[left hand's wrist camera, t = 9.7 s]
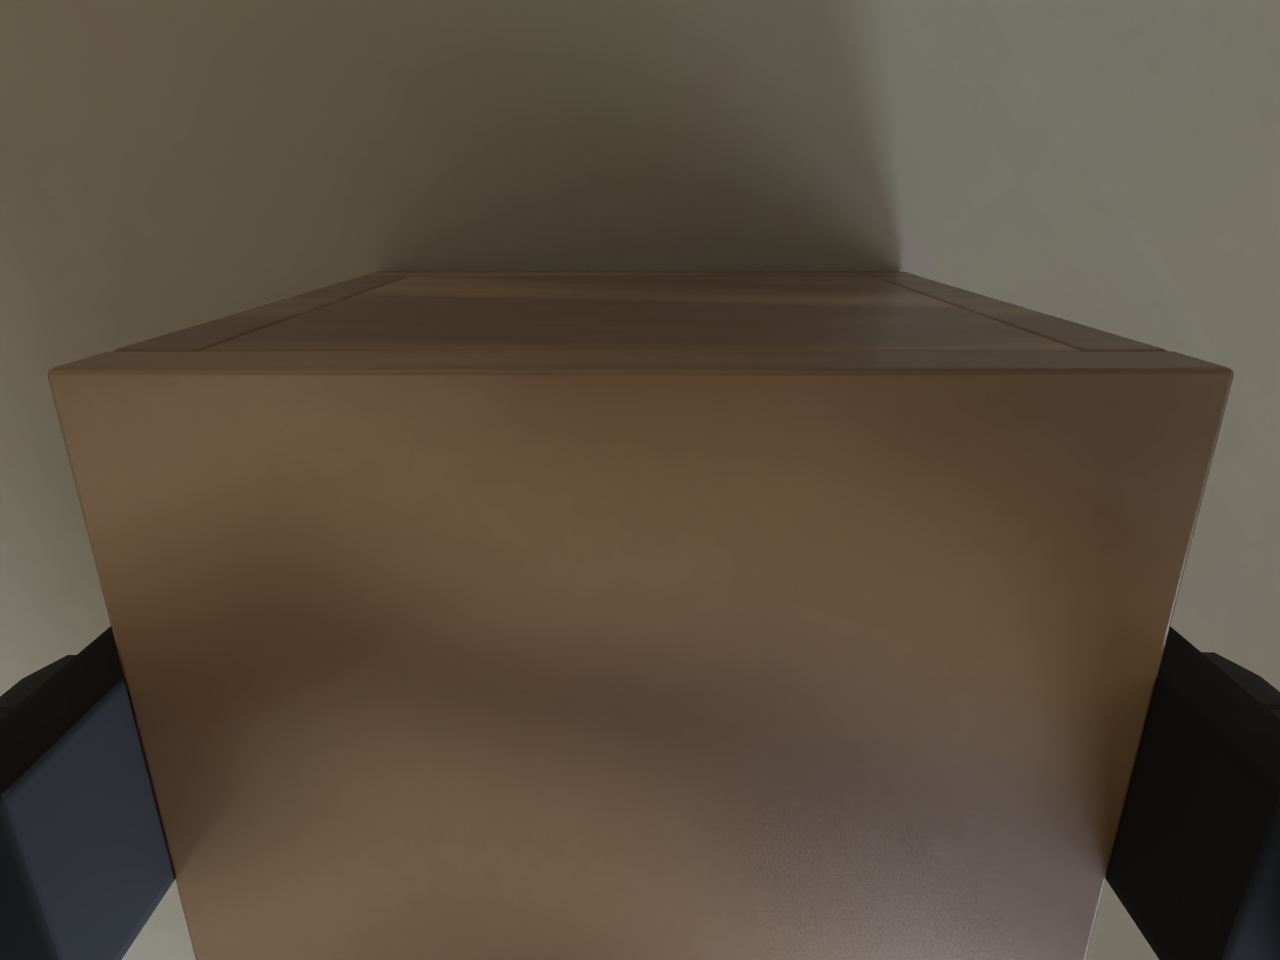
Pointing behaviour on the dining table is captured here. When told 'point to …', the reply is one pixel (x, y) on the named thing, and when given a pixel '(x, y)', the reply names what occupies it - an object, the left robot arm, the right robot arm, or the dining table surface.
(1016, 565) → the cabinet
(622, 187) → the dining table surface
